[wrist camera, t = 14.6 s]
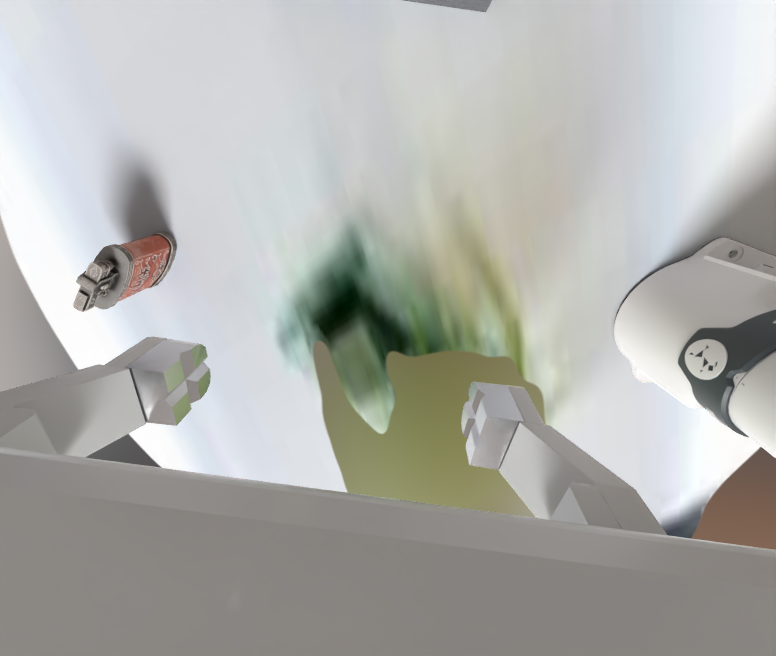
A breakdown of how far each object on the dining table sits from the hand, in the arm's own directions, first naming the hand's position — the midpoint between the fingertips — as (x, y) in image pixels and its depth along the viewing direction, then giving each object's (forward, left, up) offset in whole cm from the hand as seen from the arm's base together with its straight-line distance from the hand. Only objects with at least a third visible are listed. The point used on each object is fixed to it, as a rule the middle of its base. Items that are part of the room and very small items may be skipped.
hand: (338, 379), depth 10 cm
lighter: (+28, +8, -29) cm, 41 cm away
